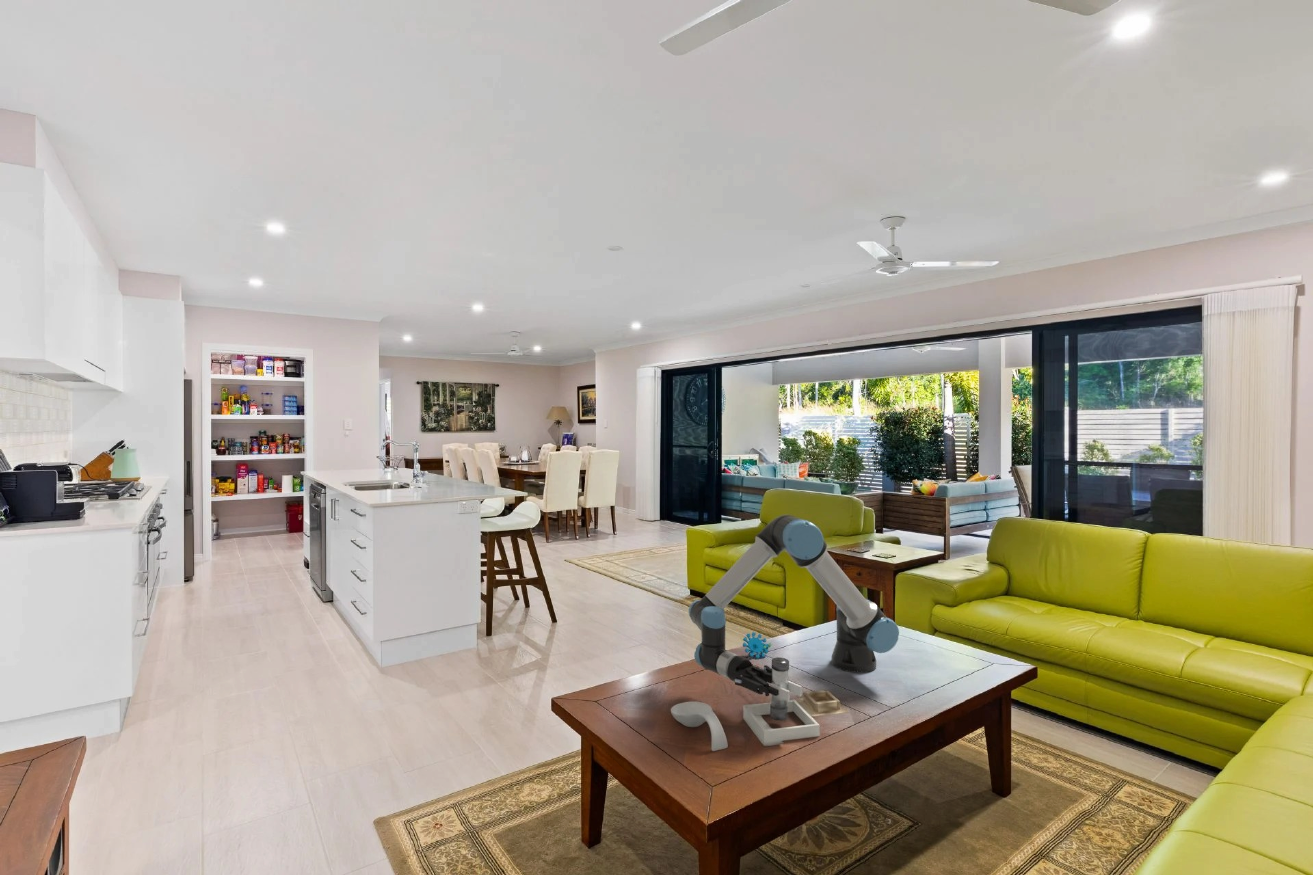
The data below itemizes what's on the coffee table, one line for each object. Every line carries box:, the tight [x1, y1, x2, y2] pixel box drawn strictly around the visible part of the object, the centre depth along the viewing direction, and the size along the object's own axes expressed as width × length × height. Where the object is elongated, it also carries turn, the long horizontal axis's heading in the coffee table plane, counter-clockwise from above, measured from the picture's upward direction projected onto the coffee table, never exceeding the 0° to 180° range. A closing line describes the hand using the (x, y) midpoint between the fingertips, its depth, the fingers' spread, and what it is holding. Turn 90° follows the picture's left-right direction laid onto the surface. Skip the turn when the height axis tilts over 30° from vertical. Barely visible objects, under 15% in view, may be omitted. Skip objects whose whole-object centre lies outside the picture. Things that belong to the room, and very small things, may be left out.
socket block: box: [794, 689, 850, 717], centre depth 193 cm, size 12×12×4 cm
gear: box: [742, 632, 772, 660], centre depth 237 cm, size 11×6×10 cm
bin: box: [742, 699, 821, 747], centre depth 180 cm, size 16×16×4 cm
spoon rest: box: [670, 701, 729, 752], centre depth 180 cm, size 24×12×7 cm, turn 23°
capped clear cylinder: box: [769, 656, 790, 722], centre depth 180 cm, size 5×5×16 cm
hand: (795, 693), depth 176 cm, fingers closed on capped clear cylinder, 4 cm apart
